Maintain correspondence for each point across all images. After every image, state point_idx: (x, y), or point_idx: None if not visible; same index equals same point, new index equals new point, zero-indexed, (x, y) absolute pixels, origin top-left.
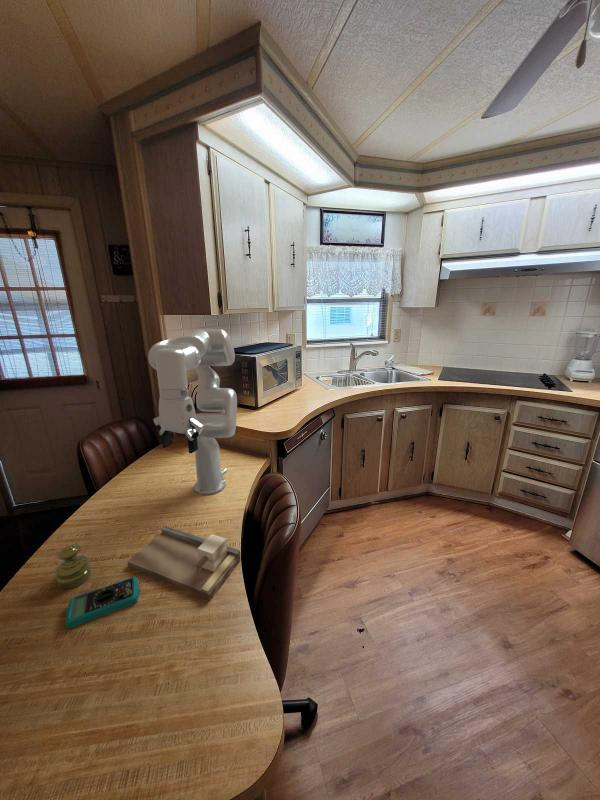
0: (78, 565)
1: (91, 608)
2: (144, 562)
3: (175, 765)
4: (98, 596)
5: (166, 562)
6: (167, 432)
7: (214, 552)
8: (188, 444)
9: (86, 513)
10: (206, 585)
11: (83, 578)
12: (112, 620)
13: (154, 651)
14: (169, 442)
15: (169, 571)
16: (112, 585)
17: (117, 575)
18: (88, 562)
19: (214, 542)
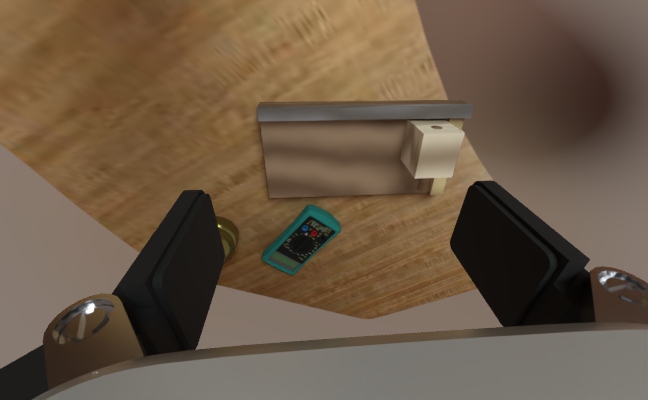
0: (225, 251)
1: (302, 258)
2: (299, 189)
3: (467, 283)
4: (292, 247)
5: (336, 174)
6: (156, 333)
7: (452, 172)
8: (494, 305)
9: None
10: (436, 188)
11: (237, 236)
12: (330, 246)
13: (403, 248)
14: (207, 233)
15: (356, 185)
16: (293, 232)
17: (270, 207)
18: (226, 236)
19: (442, 152)
